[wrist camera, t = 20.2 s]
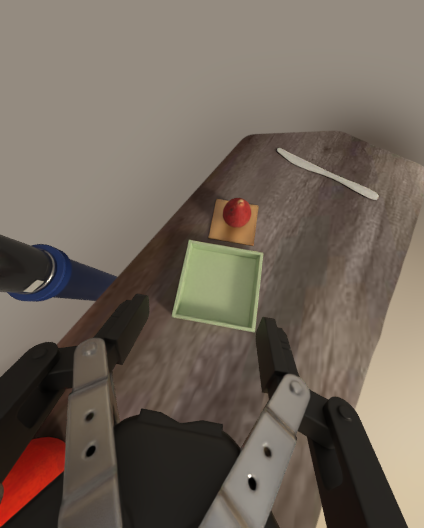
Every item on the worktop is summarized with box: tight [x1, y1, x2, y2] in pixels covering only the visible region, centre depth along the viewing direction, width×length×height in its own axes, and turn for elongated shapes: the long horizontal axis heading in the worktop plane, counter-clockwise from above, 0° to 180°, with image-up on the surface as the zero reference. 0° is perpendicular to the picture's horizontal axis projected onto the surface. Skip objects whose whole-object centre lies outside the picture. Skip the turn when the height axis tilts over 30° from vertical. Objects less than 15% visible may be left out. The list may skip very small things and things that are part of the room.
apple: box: [0, 437, 66, 527], centre depth 23 cm, size 12×12×13 cm
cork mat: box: [209, 199, 258, 246], centre depth 41 cm, size 10×10×1 cm
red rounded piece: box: [223, 198, 251, 228], centre depth 37 cm, size 6×6×8 cm
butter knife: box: [277, 148, 379, 200], centre depth 44 cm, size 1×27×3 cm
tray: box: [172, 240, 263, 332], centre depth 36 cm, size 15×15×3 cm
